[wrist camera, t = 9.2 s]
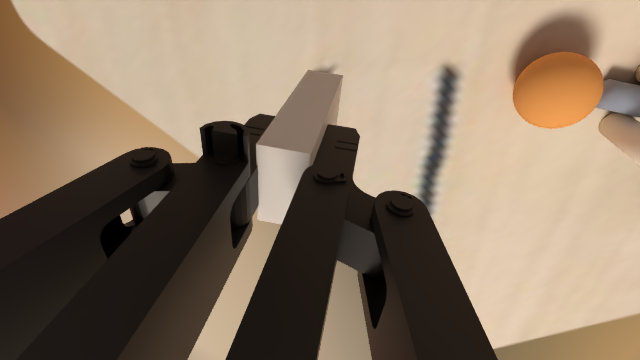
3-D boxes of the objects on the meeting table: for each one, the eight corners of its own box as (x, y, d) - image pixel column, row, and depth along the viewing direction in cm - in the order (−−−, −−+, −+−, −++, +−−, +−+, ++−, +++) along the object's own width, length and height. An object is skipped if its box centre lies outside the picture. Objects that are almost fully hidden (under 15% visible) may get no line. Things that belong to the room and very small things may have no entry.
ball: (617, 54, 27) (532, 42, 29) (624, 65, 22) (524, 50, 25) (580, 125, 30) (507, 108, 32) (581, 147, 25) (496, 125, 28)
